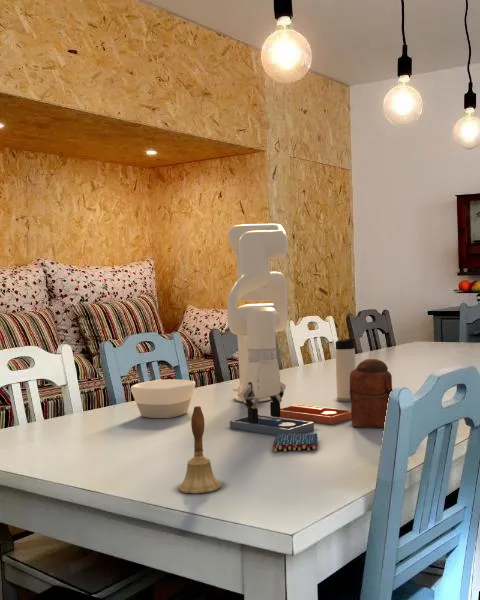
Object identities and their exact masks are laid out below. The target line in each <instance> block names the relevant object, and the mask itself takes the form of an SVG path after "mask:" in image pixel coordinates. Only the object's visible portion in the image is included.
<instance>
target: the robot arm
mask: <svg viewBox="0 0 480 600" xmlns="http://www.w3.org/2000/svg"><path fill="white" fill-rule="evenodd" d="M227 237H228V243H229V245H230V247H231V249H232V252H233V253H234V255H235V259H236V267H237V268H236V271H237V274H236V275H237V281H236V282H235V283H234V285H233V286H232V287H231V289H230V291H229V293H228V296H227V303H226V305H227V306H226V309H227V325H228V329H229V331H230V333H232V334H233V335H236V339H237V353H238V376H239V378H238V379H239V384H237V385H235V387H233V388H232V391H233V392H236V393H237V395H235V397H234V399H235V401H236V402H242V403H243V404H244V406H245V408H246V409H247V416H248V422H250V423H258V415H259V409H258V407H257V406H258V403H260V402H267V401H269V410H270V415H269V416H271V417H278V418H281V417H280V416H281V415H280V408H281V403H282V401H283V396H284V394H285V390H286V388H287V387H286V384H284V383H283V382H282V381H281V374H280V373H281V372H280V367H279V362H278V359H277V343H276V342H277V341H276V339H277V338H276V333H278V332H283V331H284V330H286V328H287V326H288V285H287V279H286V277H285V274H283V273H282V272H281V271H280V272H279V271H271V269H270V259H271V260H272V259H273V260H274V259H285V258H286V257H287V256H288V252H289V241H288V236H287V233H286V230H285V229H284V227H283V226H282V225H281V224H279V223H255V224H254V223H245V224H236V225H233V226H231V227H229V229H228V232H227ZM240 299H241V300H242V301H244V302H272V303H247V304H241V305H240V306H238V303H239V300H240Z"/></svg>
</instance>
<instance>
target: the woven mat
mask: <svg viewBox="0 0 480 600" xmlns="http://www.w3.org/2000/svg"><path fill="white" fill-rule="evenodd" d="M318 439H319V437H318V433H317V432H314V433H313V432H312V433H311V432H309V433H302V434H291V435H290V434H289V435H287V434H285V435H283V434H282V435H281V434H279V435H277V436H276V437H274V441H273V445H272V447H273V451H274V452H277V451H278V450H279V451H280V450H283V452H287V449H288V450H289V451H291V450H293V451H296V450H297V451H301V450H305V449H307V451H311V449H312V450H315V449H316V447H318V443H319V442H318Z"/></svg>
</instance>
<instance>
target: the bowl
mask: <svg viewBox="0 0 480 600" xmlns="http://www.w3.org/2000/svg"><path fill="white" fill-rule="evenodd" d="M195 387H196V381H195V380H190V379H155V380H148V381H144V382H139V383H136V384H133V385H131V387H130V392H131V394H132V397H133V400H134V401H135V403H136V406H137V409H138V410H139V413H140V416H141V417H142V418H147V419H150V418H151V419H172V418H175V417H176V418H177V417H180V416H183V415H185V414H186V413H188V411H189V408H190V405H191V400H192V398H193V394H194V391H195Z"/></svg>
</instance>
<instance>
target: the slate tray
mask: <svg viewBox="0 0 480 600" xmlns="http://www.w3.org/2000/svg"><path fill="white" fill-rule="evenodd" d="M258 417H265V418H272V419H279V420H282V423H295V427H294V428H290V429H285V428H278V427H271V426H265V425H258V424H251V423H248V415H247V416H244V417H240V418H235V419H231V420H229V428H230V429H233V430H239V431H245V432H253V433H259V434H265V435H271V436H276V437H277V435H279V434H281V435H282V434H283V435H285V434H287V435H289V434H290V435H291V434H303V433H304V434H306V433H308V432H309V433H310V432H311V431H314V430H315V422H311V421H303V420H296V419H289V418H282V417H272V416H271V415H262V414H258Z"/></svg>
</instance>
